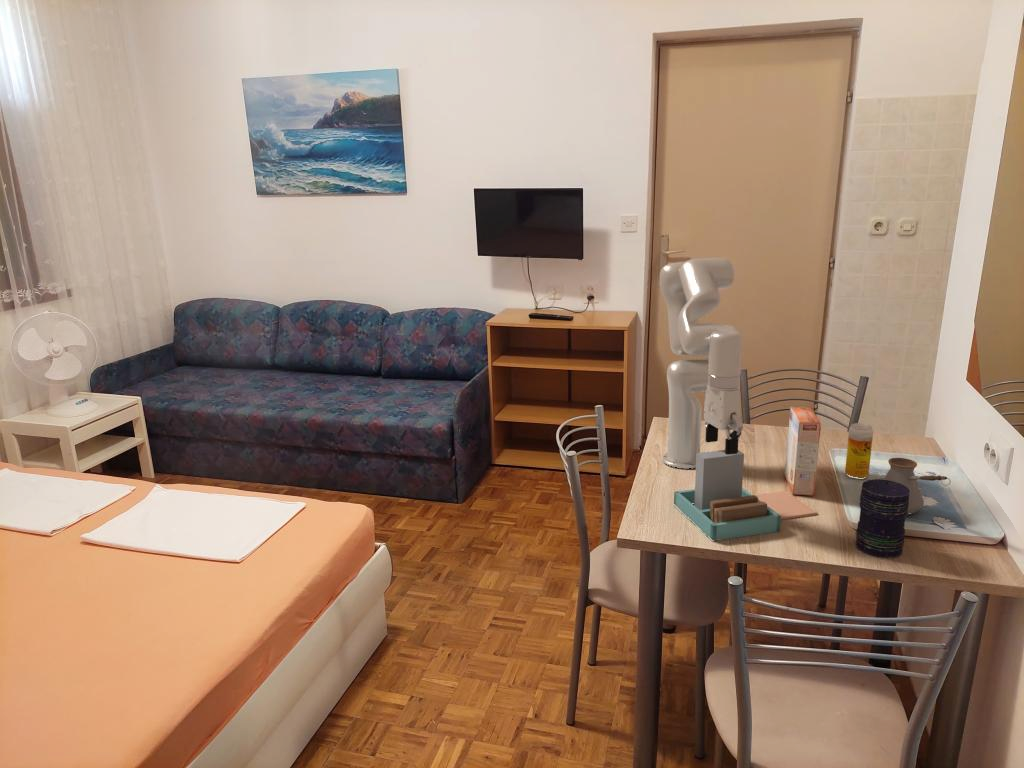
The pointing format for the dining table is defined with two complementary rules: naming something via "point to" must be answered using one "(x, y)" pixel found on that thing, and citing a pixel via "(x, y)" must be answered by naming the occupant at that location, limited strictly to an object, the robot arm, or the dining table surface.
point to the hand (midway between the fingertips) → (721, 447)
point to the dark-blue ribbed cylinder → (882, 518)
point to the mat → (786, 505)
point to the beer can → (859, 450)
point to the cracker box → (802, 450)
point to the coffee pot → (909, 480)
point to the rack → (726, 528)
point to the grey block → (717, 477)
